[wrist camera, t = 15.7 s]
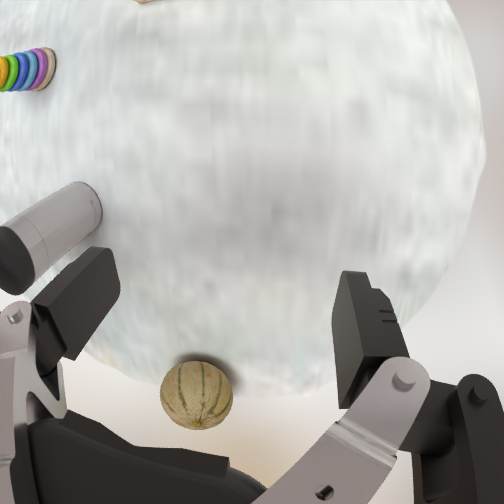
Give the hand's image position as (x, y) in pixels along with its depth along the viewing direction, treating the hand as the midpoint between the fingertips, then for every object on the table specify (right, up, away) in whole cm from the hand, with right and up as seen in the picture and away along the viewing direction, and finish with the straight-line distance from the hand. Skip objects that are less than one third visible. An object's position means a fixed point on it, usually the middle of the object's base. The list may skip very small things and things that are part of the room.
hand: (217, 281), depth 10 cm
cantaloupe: (-9, -24, +50) cm, 56 cm away
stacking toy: (-34, +32, +22) cm, 52 cm away
